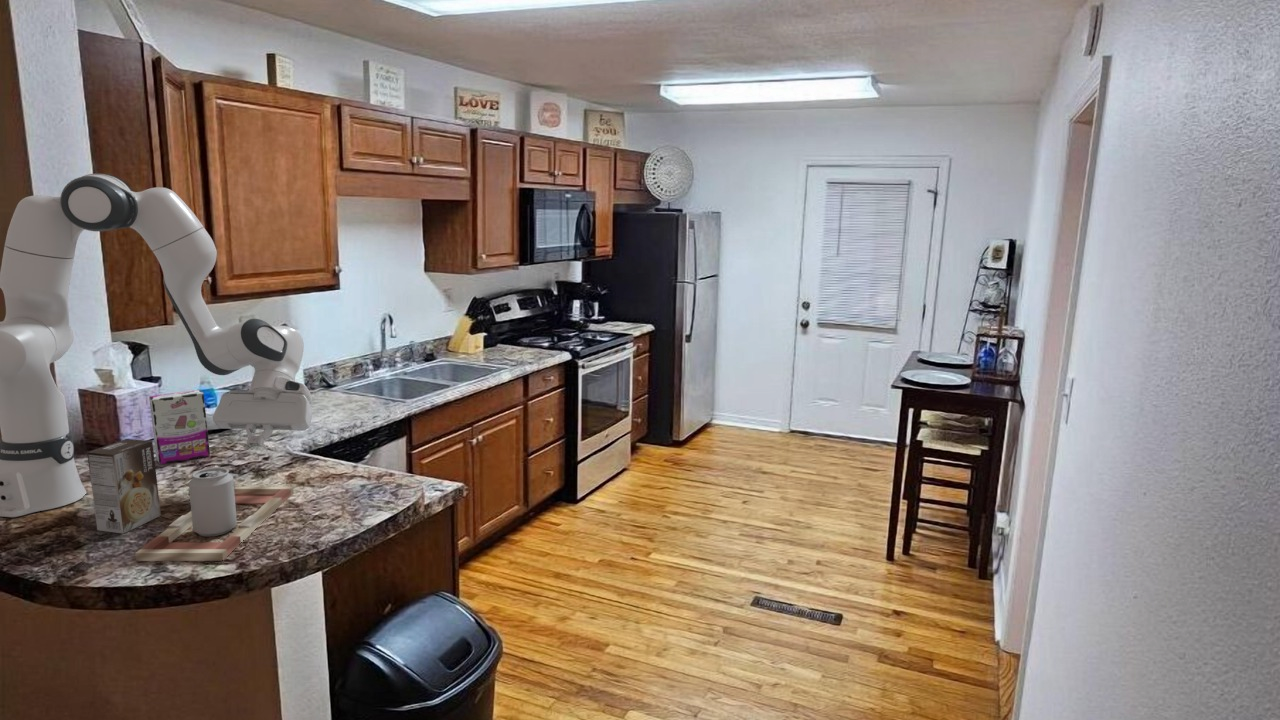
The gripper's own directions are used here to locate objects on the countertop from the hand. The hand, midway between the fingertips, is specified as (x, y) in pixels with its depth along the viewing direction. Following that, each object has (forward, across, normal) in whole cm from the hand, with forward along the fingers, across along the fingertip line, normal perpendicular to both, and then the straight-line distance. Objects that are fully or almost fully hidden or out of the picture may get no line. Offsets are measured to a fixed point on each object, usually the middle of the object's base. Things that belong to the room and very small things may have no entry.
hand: (254, 445), depth 167 cm
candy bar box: (-8, -28, +24) cm, 38 cm away
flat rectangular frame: (+20, +1, -4) cm, 20 cm away
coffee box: (+20, -17, -4) cm, 27 cm away
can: (+22, +1, -6) cm, 23 cm away
